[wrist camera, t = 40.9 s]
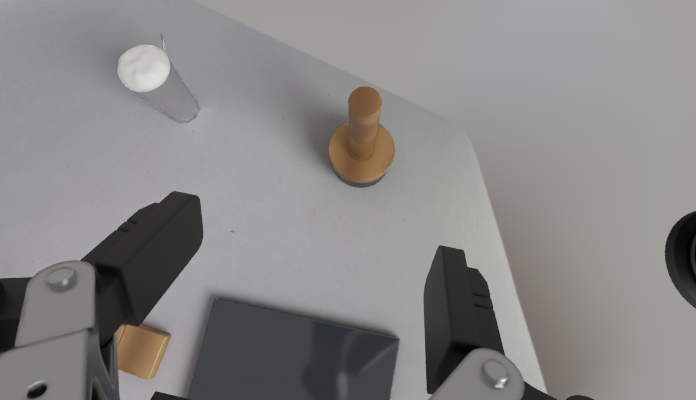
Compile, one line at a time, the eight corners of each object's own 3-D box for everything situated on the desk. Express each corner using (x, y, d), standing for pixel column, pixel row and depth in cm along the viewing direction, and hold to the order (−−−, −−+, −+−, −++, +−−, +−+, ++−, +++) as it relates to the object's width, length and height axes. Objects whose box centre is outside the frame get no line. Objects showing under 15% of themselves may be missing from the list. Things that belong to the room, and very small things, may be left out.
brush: (394, 137, 39) (415, 69, 26) (385, 194, 38) (402, 150, 25) (336, 128, 39) (329, 55, 27) (325, 183, 38) (312, 135, 25)
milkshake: (219, 108, 40) (176, 53, 30) (177, 136, 39) (120, 89, 30) (196, 79, 41) (148, 16, 31) (156, 106, 40) (93, 50, 30)
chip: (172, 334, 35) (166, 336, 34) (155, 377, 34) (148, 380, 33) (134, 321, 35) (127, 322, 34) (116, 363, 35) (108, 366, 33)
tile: (398, 337, 35) (400, 339, 34) (379, 452, 32) (380, 458, 32) (218, 298, 36) (214, 298, 35) (188, 408, 33) (183, 411, 32)
